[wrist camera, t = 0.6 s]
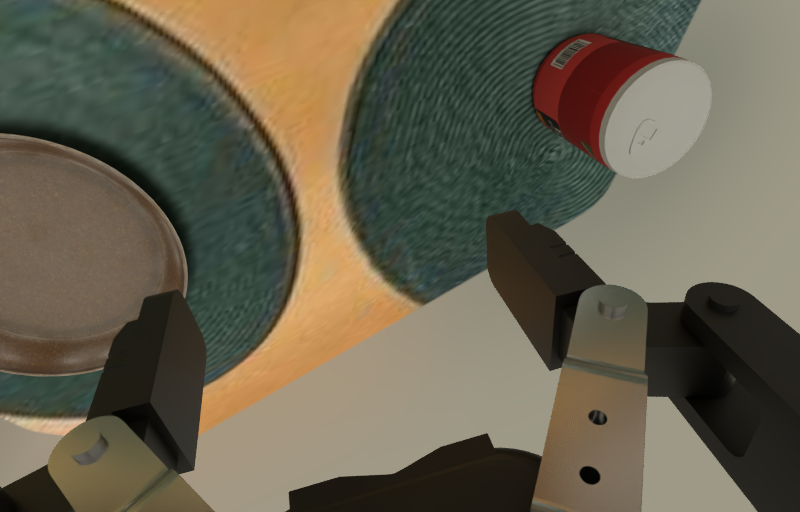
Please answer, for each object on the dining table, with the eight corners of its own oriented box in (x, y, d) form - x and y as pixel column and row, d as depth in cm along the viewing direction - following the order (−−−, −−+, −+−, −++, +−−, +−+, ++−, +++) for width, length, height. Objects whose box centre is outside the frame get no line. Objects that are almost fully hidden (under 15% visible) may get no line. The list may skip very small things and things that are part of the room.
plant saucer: (-55, 52, 31) (-85, 63, 28) (240, 220, 41) (239, 240, 39) (-167, 283, 37) (-201, 311, 34) (117, 379, 47) (109, 406, 44)
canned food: (517, 125, 42) (587, 176, 33) (546, 24, 38) (634, 50, 29) (594, 133, 45) (679, 183, 36) (629, 38, 41) (734, 67, 32)
